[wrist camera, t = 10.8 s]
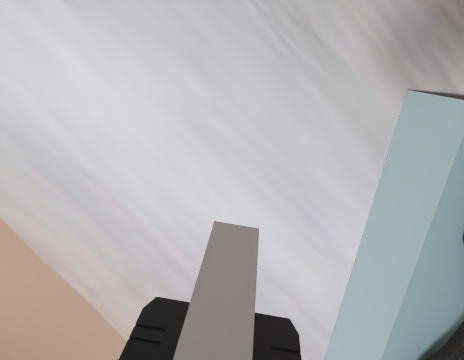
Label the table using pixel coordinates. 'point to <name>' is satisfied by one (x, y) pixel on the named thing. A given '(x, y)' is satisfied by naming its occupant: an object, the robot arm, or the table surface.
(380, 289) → the plate
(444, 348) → the hairbrush
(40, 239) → the table surface
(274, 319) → the robot arm
